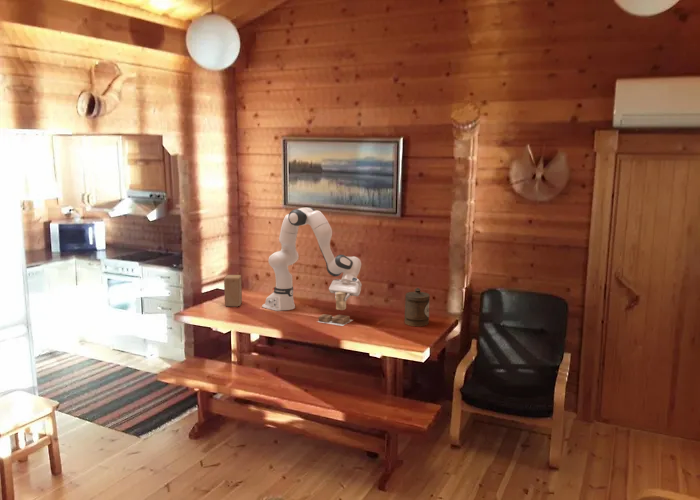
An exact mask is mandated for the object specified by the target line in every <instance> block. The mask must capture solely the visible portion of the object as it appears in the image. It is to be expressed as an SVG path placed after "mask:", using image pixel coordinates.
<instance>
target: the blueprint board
mask: <svg viewBox="0 0 700 500" xmlns="http://www.w3.org/2000/svg"><path fill="white" fill-rule="evenodd" d="M352 321H354V319H350V321H349V322H347V323H345V324H338V323H332V320H331V321H329V322H321V321H319V320H317V321H316V323H317V322H318V323H320V324H321V323H323V324H328V325H335V326H341V327H343V326H345V325H347V324H350V323H351V322H352Z"/></svg>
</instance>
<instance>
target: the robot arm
mask: <svg viewBox="0 0 700 500" xmlns="http://www.w3.org/2000/svg"><path fill="white" fill-rule="evenodd" d="M306 225H309V226H310V228H311V230H312V232H313V234H314V236H315V238H316V240H317V244H318V247H319V250H320V252H321V254H322V257H323V259H324V261H325V264H326V266H325V267H326V270H327V272H328V274H329V275H331V277H339V276H340V275H341V274H342V276H341V278H340V279H336V278H335V279H332V281H331V284H330V285H329V287H328V291H329V293H331V294H334V295H335V296H334V297H335V298H334V299H335V300H336V293H338V292H344V293H346V297H344V299H343V300H344V301H346V302H347V301H348V299H349V298H350V297H351V296H353V297H359V296H360V294H361V290H362V286H363V285H362V282H361V281H360V279H359V278H358V276H359V273H360V271H361V267H362V260H361V259H360V258H359V257H357V256H354V255H353V256H346V255H345V254H338V255H336V256H335V255H334V253H333V251H332V248H331V240H332V236H333V229H332V226H331V224H330V223H329V221H328V219H327V217H326V216H325V215H324V214H323V212H321V211H320V210H317V209H315V208H313V207H310V206H307V207H299V208H296V209H293V210H291V211H290V212H289V213H287V214H286V215H285V216H284V218H283V221H282V223H281V227H280V232H279V236H278V237H279V238H278V242H279V243H280V245H281V246H280V247H281V249H280V250H278V251H275V252H273V253H272V254H271V255H269V257H268V261H267V262H268V265H269V266H270V267H271V268H272V269H273V272H274V275H275V276H274V277H275V286H274V287H273V288H272V291H273V292H272V293H270V295H268V296H267V297H266V298H265V303H263V304H262V305H261V308H265V309H267V310H270V311H271V310H272V311H274V312H280V311H290V310H294V309H296V305H295V301H294V287H293V284H294V283H293V274H292V273H290V270H289V266H292V265H294V264H295V263H296V262H297V261H298V260H299V258H300V257H299V252H298V251H297V247H296V245H297V243H296V242H297V238H298V233H299V227H300V226H306Z"/></svg>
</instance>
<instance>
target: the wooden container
mask: <svg viewBox="0 0 700 500" xmlns="http://www.w3.org/2000/svg"><path fill="white" fill-rule="evenodd" d="M430 298H431V297H430V294H429V293H428V292H424V291H421V288H419V287H416V288H415V289H414V291H409V292H406V293H405V300H404V301H405V303H404V304H405V305H404V323H405V325H408V326H410V327H411V326H412V327H425V325H426V326H428V325H429V323H430V322H429V321H430V320H429V319H430Z"/></svg>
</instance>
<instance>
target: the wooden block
mask: <svg viewBox="0 0 700 500" xmlns="http://www.w3.org/2000/svg"><path fill="white" fill-rule="evenodd" d="M242 282H243V281H242V274H227V275H226V276H225V277H224V278H223V286H224V287H223V289H224V291H223V292H224V306H225V307H230V308H231V307H238V306H239V307H240V306H241V305H242V303H243V292H242V291H243V290H242V287H243V286H242Z"/></svg>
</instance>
